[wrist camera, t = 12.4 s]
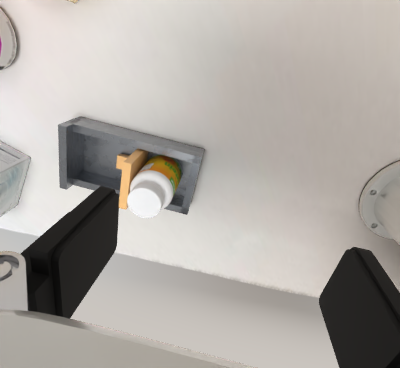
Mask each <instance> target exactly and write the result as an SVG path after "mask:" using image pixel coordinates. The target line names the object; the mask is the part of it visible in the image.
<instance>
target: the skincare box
mask: <svg viewBox="0 0 400 368" xmlns="http://www.w3.org/2000/svg"><path fill="white" fill-rule="evenodd" d="M30 159H31V158H30V157H29V156H27V155H25V154H23V153H21V152H19V151H17V150H15V149H14V148H12V147H10V146H8V145H6V144H4V143H3V142H1V141H0V217H1V216H2V215H4V214H5V213H7V212H8V211H9V210H11V209H12V208H14V207H15V206H17V205H18V201H19V198H20V194H21V191H22V187H23V184H24V180H25V177H26V173H27V170H28V166H29V163H30Z"/></svg>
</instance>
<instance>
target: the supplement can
mask: <svg viewBox="0 0 400 368" xmlns="http://www.w3.org/2000/svg"><path fill="white" fill-rule="evenodd" d="M16 48H17V43H16V37H15V32H14V30H13V27H12V25H11V23H10V21H9V19H8V17H7V16H6V15H5V13H4V12H3V11H2V10H1V8H0V70H2V69H4V68H6V67H8V66H9V65H10V64H11V63H12V61H13V60H14V58H15V55H16Z"/></svg>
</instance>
